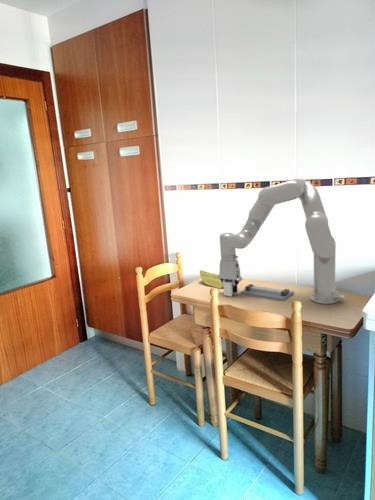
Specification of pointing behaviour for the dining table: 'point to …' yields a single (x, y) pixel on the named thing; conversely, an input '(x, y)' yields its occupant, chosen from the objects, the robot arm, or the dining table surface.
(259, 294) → the mounting plate
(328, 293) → the robot arm
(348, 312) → the dining table surface
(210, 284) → the yellow-green curved piece
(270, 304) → the dining table surface
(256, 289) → the din rail
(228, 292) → the block
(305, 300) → the dining table surface
